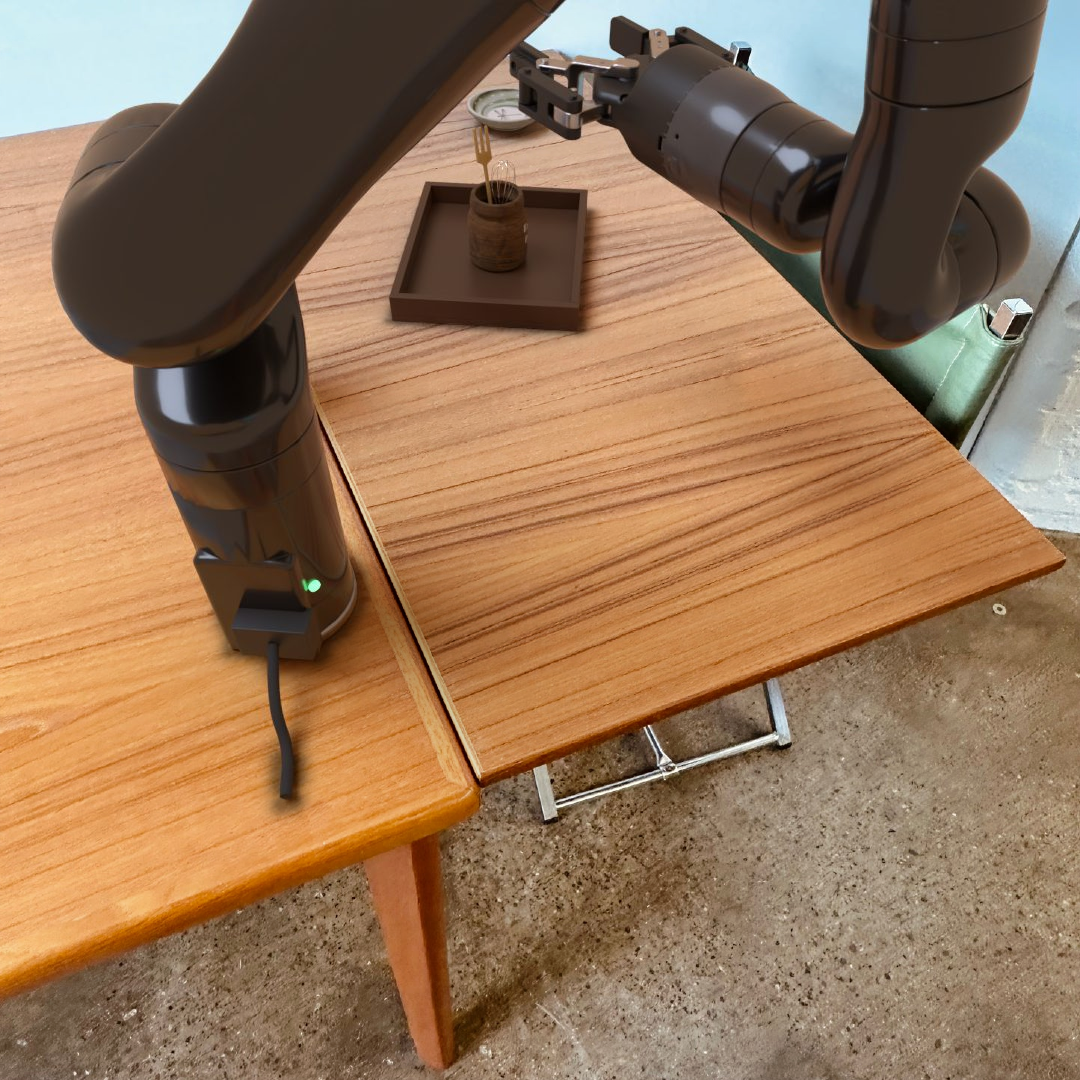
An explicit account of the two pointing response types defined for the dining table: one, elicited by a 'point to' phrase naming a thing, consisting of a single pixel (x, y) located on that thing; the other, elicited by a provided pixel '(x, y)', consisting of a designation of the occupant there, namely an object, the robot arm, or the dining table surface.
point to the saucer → (498, 109)
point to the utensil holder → (496, 218)
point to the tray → (484, 296)
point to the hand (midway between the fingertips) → (565, 43)
